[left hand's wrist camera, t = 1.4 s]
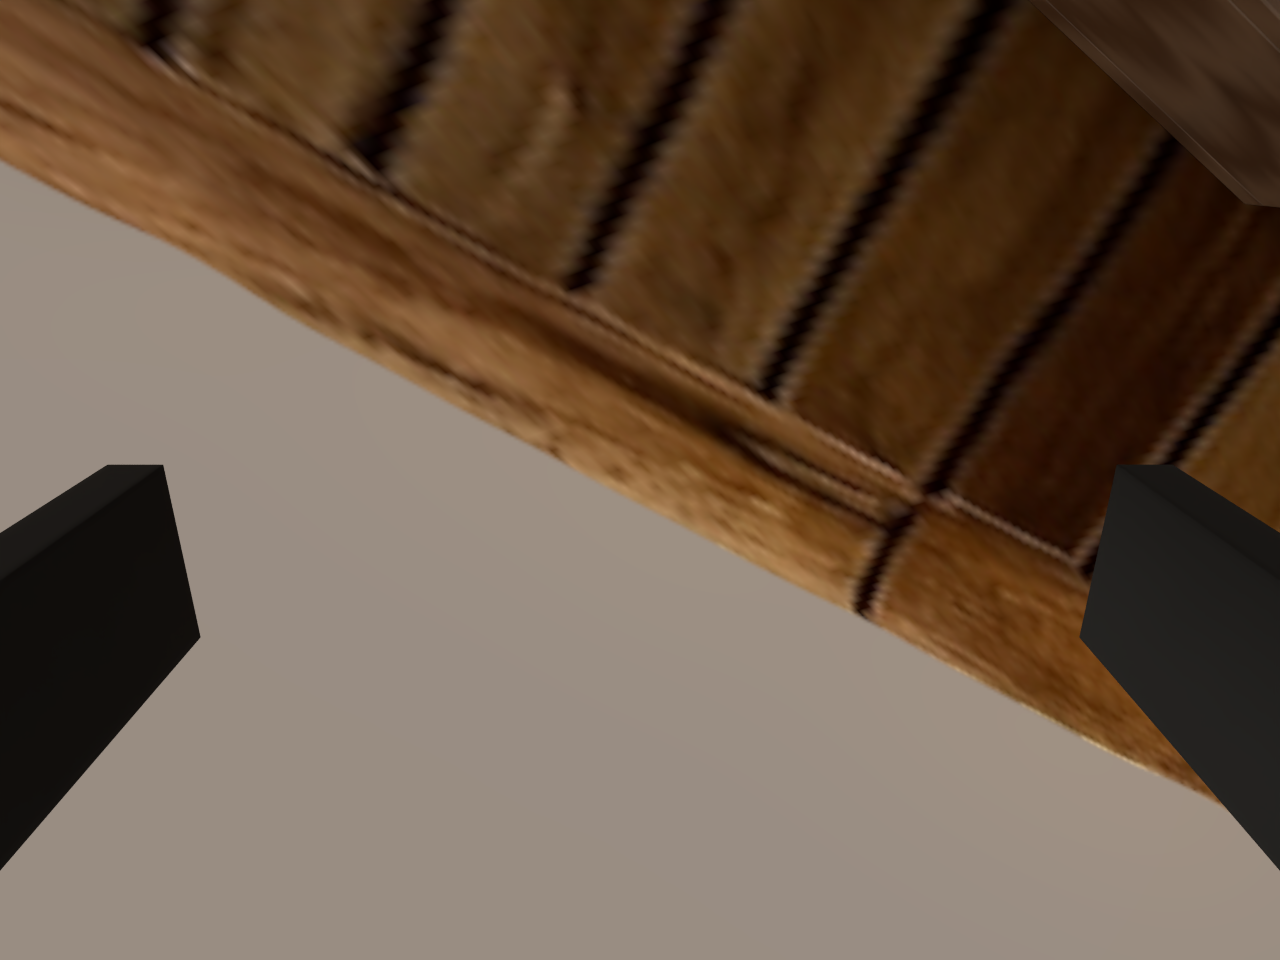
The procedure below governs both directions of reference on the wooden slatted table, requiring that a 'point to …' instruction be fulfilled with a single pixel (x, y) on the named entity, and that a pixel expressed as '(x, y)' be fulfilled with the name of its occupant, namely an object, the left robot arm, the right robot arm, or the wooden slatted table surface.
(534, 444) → the wooden slatted table surface
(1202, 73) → the cabinet
